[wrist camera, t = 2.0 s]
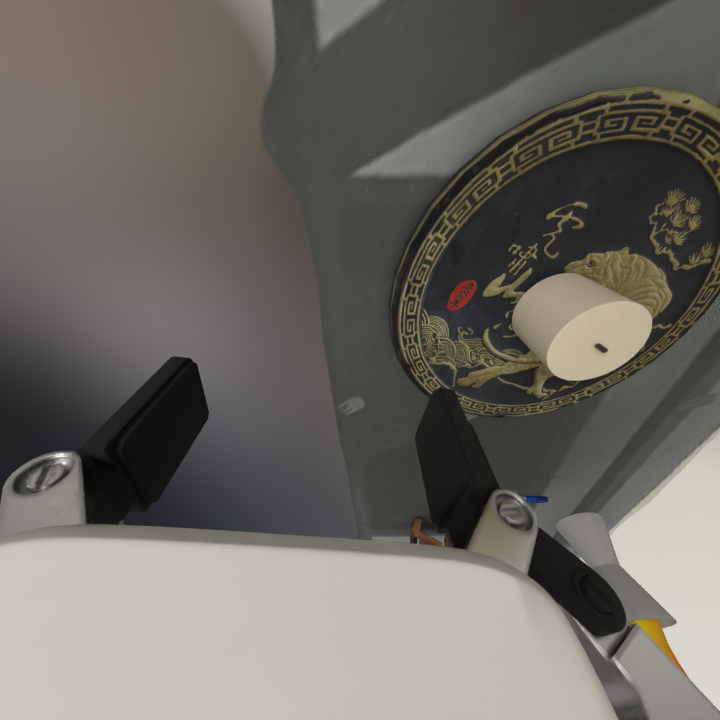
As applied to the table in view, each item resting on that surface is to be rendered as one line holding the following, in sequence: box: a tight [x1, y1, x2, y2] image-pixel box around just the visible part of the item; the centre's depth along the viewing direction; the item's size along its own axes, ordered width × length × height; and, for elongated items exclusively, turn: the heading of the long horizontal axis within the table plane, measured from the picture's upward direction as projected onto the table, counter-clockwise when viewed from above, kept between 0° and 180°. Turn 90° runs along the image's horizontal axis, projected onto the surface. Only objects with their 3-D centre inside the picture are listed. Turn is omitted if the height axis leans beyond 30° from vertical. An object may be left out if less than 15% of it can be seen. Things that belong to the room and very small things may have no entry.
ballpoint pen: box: [523, 496, 548, 503], centre depth 48 cm, size 10×1×1 cm, turn 90°
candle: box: [512, 273, 652, 381], centre depth 22 cm, size 7×7×7 cm
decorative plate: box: [389, 86, 720, 417], centre depth 26 cm, size 30×2×30 cm
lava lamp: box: [555, 512, 688, 677], centre depth 40 cm, size 9×9×35 cm
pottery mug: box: [409, 518, 453, 547], centre depth 52 cm, size 12×10×8 cm
